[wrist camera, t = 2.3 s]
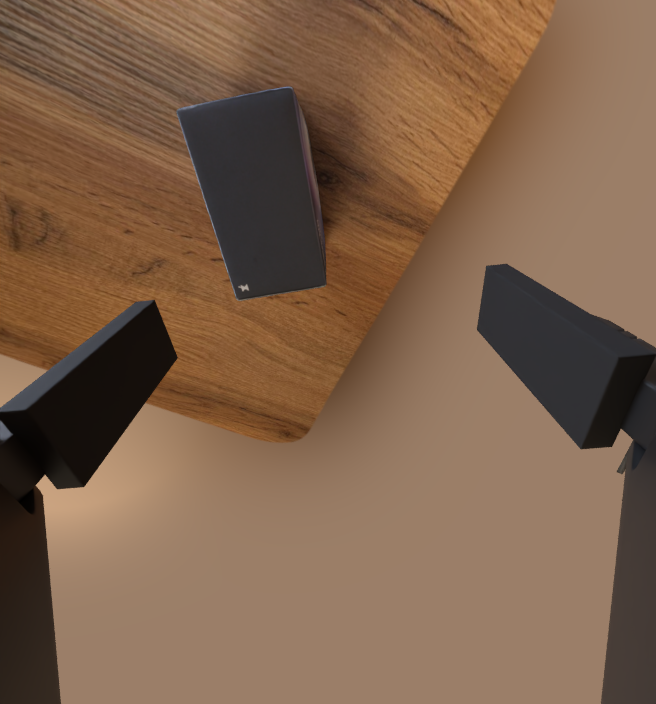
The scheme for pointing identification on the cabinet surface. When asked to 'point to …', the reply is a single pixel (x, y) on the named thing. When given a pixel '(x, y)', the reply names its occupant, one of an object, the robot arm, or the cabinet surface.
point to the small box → (259, 190)
